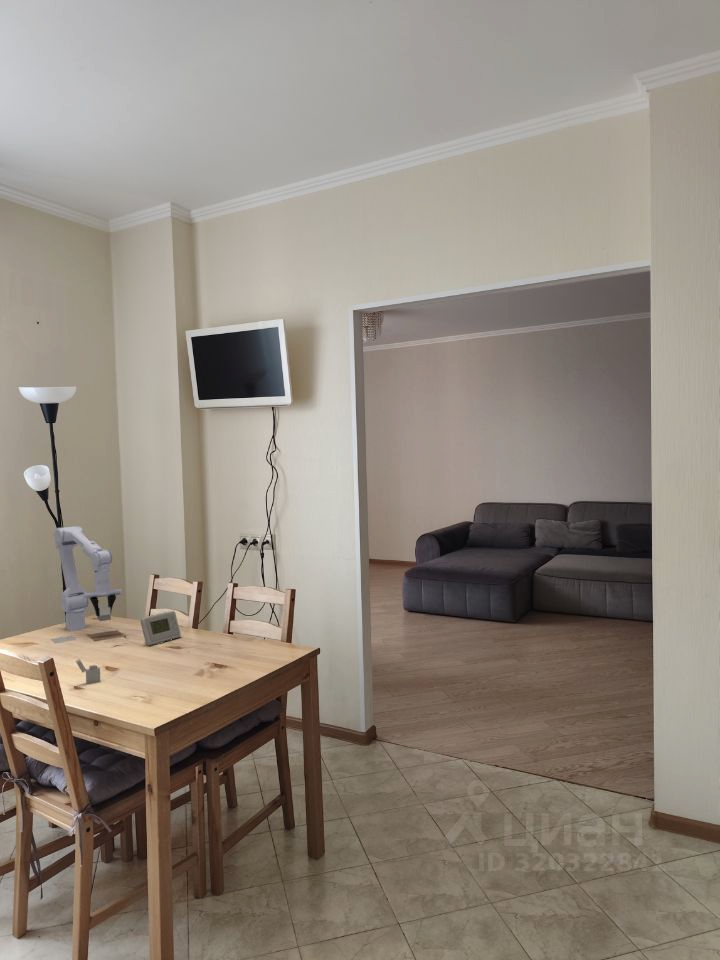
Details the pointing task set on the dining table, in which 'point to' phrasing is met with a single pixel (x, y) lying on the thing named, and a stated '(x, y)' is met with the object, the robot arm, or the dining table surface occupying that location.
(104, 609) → the housing
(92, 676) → the lighter
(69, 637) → the grey stand
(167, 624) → the digital clock
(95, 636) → the walnut stand
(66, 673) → the dining table surface
